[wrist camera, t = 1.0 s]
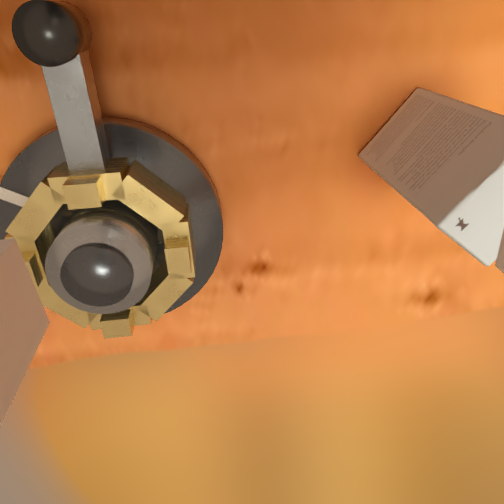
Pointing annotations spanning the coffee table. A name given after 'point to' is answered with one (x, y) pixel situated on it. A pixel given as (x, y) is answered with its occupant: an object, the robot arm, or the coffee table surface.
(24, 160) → the housing
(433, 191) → the skincare box
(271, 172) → the coffee table surface
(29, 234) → the ball lever
